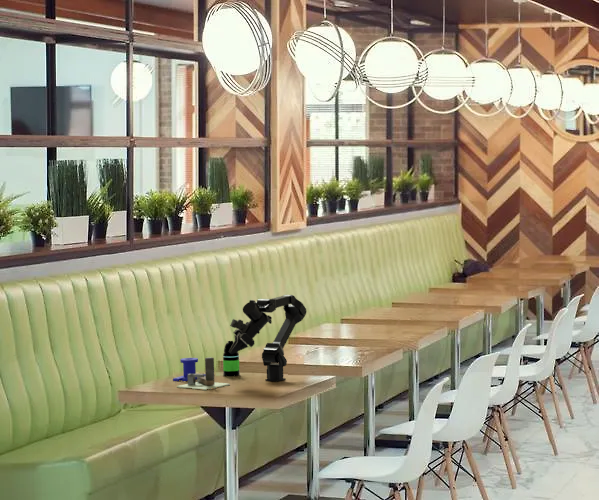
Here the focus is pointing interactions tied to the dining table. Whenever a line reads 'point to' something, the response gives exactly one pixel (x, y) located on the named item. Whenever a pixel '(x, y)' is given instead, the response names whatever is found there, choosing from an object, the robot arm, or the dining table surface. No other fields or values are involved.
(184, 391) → the dining table surface
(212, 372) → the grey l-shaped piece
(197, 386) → the plate
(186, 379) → the mount
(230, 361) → the bottle
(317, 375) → the dining table surface
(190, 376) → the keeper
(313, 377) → the dining table surface
